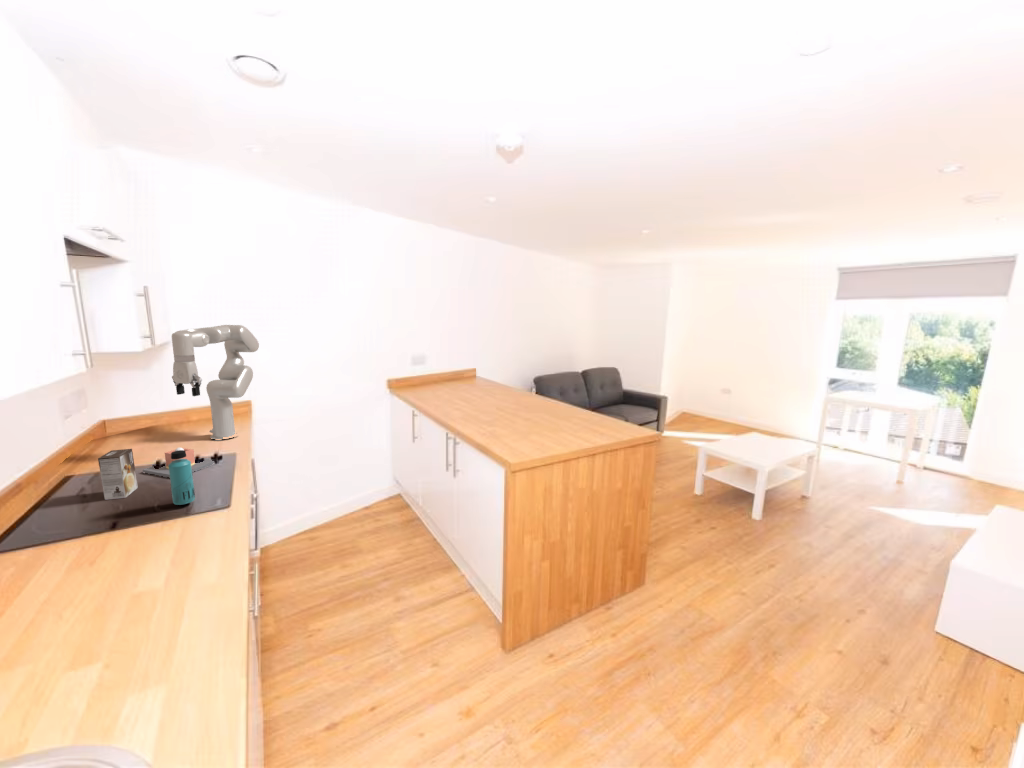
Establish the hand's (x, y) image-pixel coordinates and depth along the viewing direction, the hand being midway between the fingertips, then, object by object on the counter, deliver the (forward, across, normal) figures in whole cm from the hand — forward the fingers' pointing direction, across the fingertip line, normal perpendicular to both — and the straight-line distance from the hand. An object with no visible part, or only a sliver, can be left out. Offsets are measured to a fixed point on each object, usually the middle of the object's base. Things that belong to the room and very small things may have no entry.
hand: (188, 394), depth 192 cm
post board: (+28, +15, -17) cm, 36 cm away
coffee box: (+28, +20, -42) cm, 55 cm away
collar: (+26, +15, -17) cm, 35 cm away
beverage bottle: (+28, +50, -41) cm, 71 cm away
